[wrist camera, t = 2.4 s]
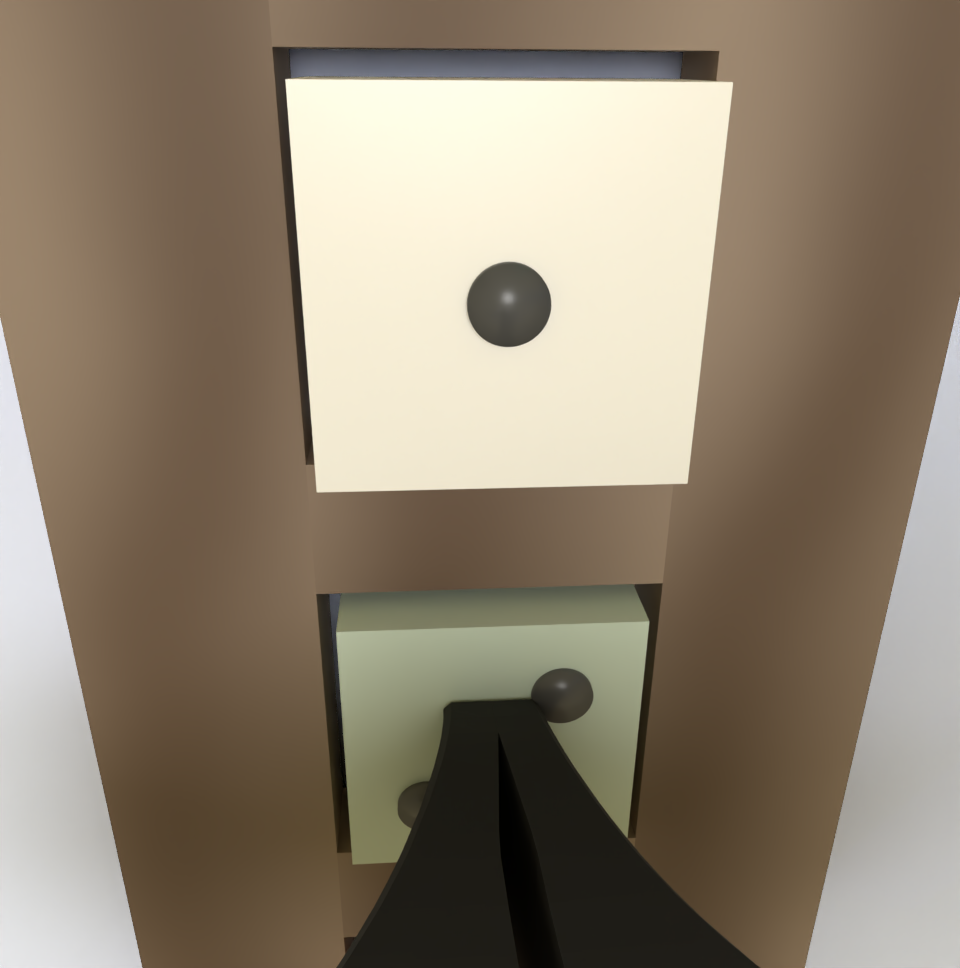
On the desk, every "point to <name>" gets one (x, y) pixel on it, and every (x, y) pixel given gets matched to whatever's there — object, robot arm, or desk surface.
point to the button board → (462, 512)
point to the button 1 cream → (504, 276)
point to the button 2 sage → (483, 689)
